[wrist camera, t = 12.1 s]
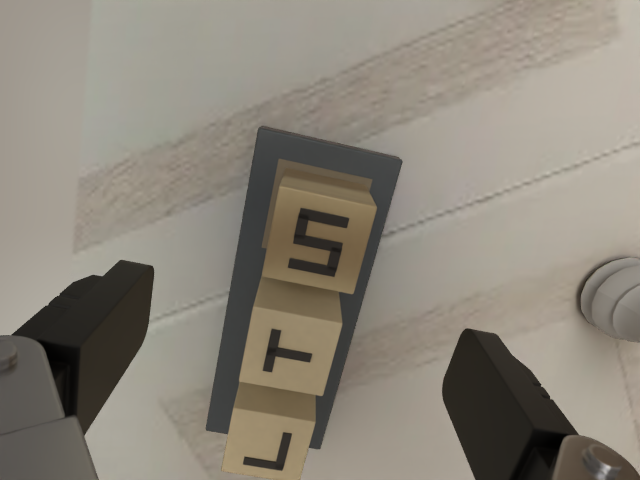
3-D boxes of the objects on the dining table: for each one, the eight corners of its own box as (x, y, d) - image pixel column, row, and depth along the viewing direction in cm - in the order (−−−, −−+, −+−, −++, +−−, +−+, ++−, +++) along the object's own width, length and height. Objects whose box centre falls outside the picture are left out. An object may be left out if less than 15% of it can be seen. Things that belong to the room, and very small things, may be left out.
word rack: (260, 125, 22) (245, 137, 17) (399, 156, 22) (423, 177, 17) (208, 418, 27) (186, 490, 23) (320, 437, 28) (321, 511, 23)
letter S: (285, 167, 21) (278, 186, 17) (366, 185, 21) (377, 207, 18) (270, 244, 22) (260, 277, 19) (346, 260, 23) (353, 296, 19)
